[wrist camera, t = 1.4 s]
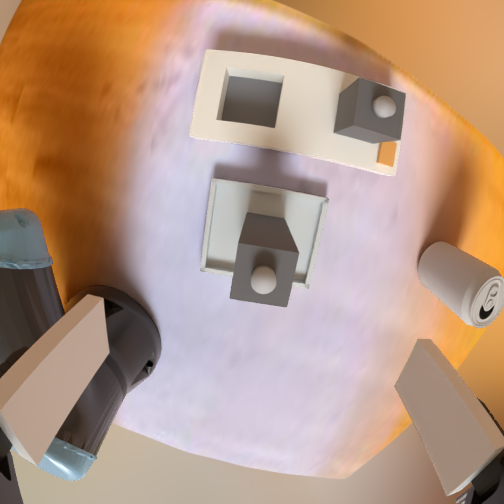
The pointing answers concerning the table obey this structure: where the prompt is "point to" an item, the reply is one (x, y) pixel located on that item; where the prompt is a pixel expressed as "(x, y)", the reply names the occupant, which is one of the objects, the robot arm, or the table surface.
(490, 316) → the beverage can
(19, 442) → the robot arm
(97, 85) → the table surface
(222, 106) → the strip
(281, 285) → the plug
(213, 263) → the tray
